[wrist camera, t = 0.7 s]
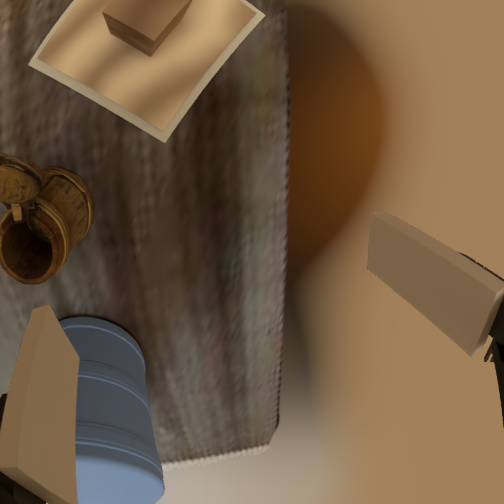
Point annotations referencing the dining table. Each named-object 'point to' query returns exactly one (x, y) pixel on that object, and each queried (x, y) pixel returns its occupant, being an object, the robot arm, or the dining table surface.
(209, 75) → the mat
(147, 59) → the lid
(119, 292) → the dining table surface
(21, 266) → the wooden mug
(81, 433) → the water jug
